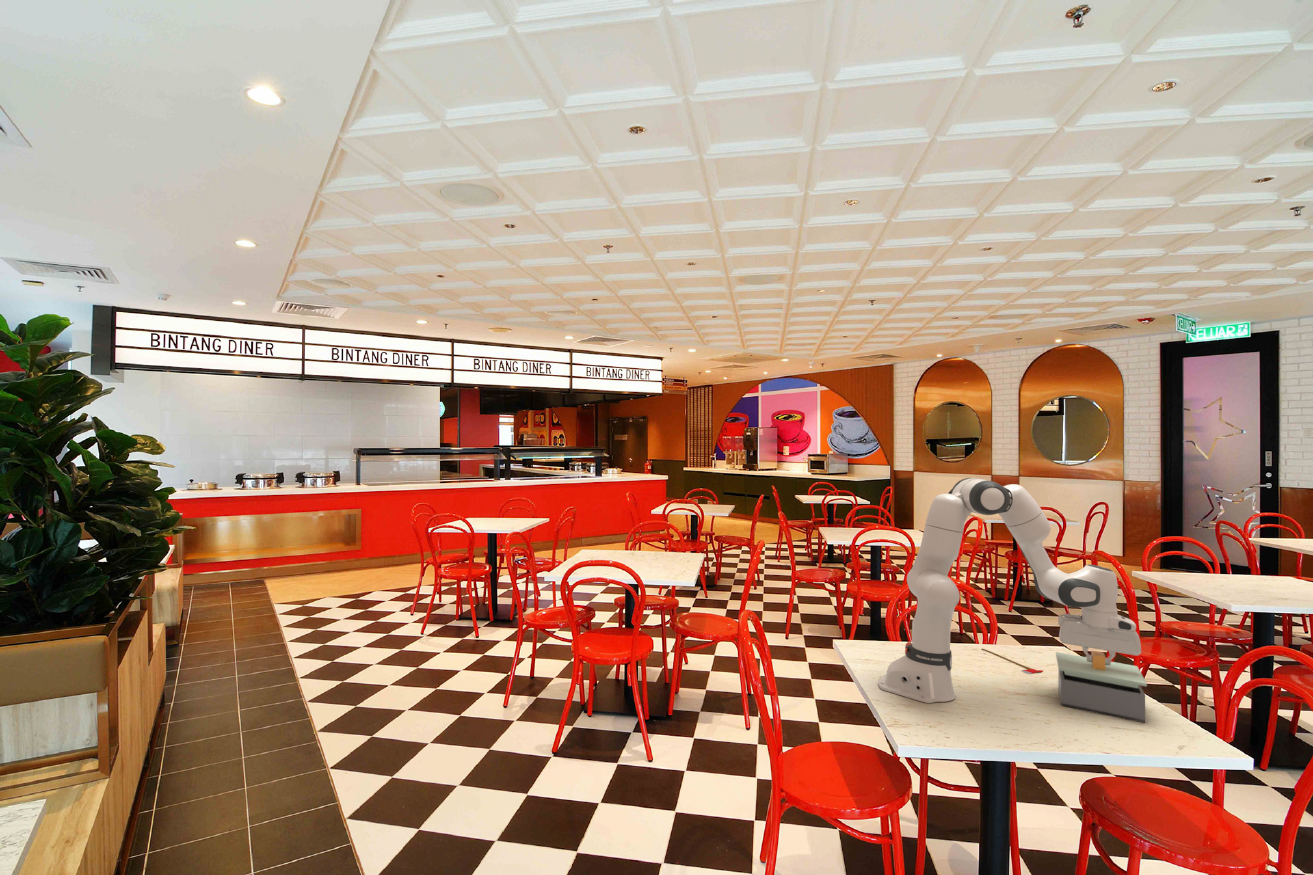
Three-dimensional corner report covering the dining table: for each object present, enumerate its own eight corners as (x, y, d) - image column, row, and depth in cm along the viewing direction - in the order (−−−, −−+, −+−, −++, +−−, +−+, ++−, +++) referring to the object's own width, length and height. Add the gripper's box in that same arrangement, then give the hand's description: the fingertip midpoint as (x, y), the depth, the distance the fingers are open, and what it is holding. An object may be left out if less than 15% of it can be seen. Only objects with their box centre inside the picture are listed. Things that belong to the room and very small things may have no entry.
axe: (1022, 675, 206) (1050, 675, 206) (1022, 672, 206) (1050, 672, 206) (980, 650, 231) (1004, 650, 231) (980, 647, 231) (1004, 648, 231)
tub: (1060, 705, 180) (1061, 679, 180) (1058, 688, 194) (1058, 663, 194) (1144, 722, 170) (1145, 694, 170) (1135, 703, 183) (1136, 677, 183)
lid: (1058, 674, 180) (1058, 654, 180) (1055, 658, 195) (1056, 639, 195) (1146, 691, 169) (1147, 669, 169) (1137, 673, 184) (1137, 653, 184)
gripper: (1059, 614, 185) (1058, 658, 185) (1142, 626, 174) (1141, 673, 174) (1058, 610, 190) (1057, 653, 190) (1139, 621, 180) (1138, 667, 179)
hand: (1098, 663), depth 182 cm, fingers closed on lid, 3 cm apart
